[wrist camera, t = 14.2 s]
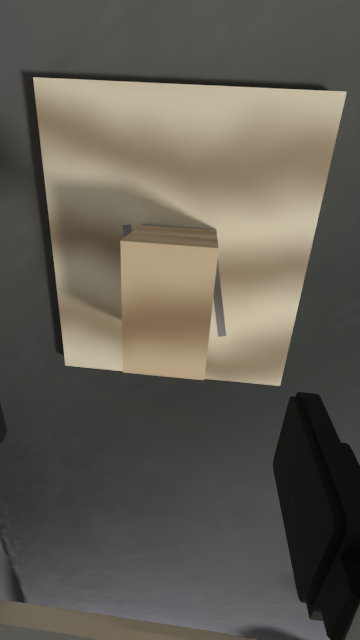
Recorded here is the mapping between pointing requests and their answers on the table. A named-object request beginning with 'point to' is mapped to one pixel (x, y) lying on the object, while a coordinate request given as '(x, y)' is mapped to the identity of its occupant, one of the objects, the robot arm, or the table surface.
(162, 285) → the block
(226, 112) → the board
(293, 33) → the table surface
